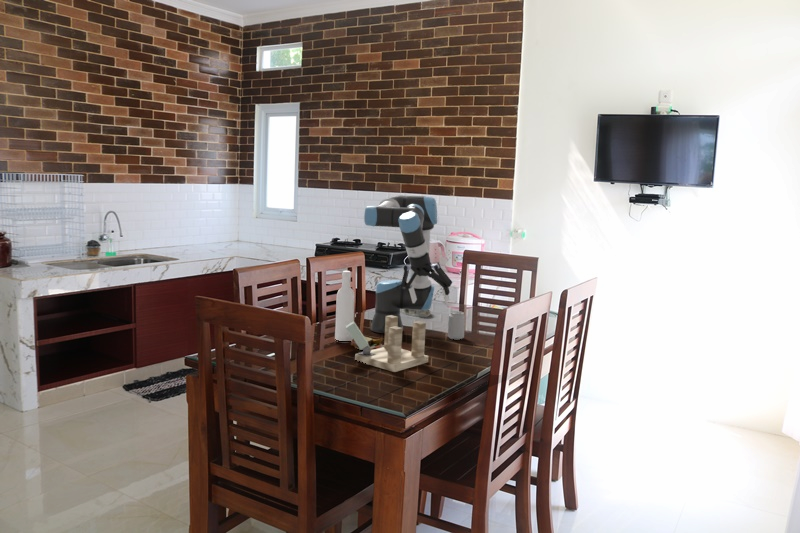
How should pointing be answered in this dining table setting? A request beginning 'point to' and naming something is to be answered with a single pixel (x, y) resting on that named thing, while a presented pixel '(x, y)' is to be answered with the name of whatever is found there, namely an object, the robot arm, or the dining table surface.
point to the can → (456, 325)
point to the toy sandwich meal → (369, 343)
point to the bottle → (344, 308)
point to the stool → (397, 348)
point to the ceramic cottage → (416, 312)
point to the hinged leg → (358, 337)
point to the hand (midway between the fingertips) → (430, 301)
